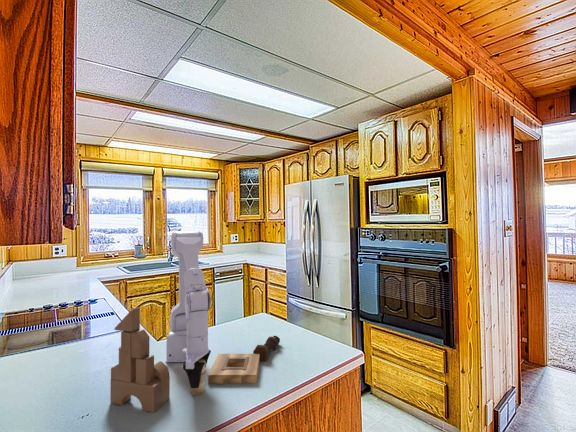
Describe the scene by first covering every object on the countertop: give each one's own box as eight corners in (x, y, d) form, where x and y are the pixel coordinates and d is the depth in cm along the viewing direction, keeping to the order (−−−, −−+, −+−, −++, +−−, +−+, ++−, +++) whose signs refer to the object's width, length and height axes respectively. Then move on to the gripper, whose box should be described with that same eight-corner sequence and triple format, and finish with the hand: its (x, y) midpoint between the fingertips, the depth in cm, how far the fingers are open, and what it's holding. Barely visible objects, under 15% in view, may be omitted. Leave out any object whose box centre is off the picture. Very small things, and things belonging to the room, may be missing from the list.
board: (208, 383, 91) (208, 374, 91) (218, 361, 105) (218, 353, 105) (255, 383, 91) (255, 374, 91) (259, 361, 105) (259, 353, 105)
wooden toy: (171, 397, 84) (171, 305, 84) (153, 412, 77) (154, 312, 77) (124, 388, 88) (125, 300, 88) (104, 402, 82) (105, 307, 82)
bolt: (278, 349, 119) (262, 365, 104) (267, 341, 120) (250, 356, 106) (285, 337, 118) (270, 351, 104) (274, 329, 119) (258, 342, 105)
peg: (186, 395, 84) (186, 366, 84) (191, 386, 89) (191, 358, 89) (203, 395, 84) (203, 366, 84) (207, 386, 89) (207, 358, 89)
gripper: (190, 324, 94) (190, 369, 94) (173, 344, 79) (173, 397, 79) (214, 324, 94) (214, 369, 94) (201, 344, 80) (201, 397, 79)
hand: (197, 382), depth 87 cm, fingers closed on peg, 4 cm apart
